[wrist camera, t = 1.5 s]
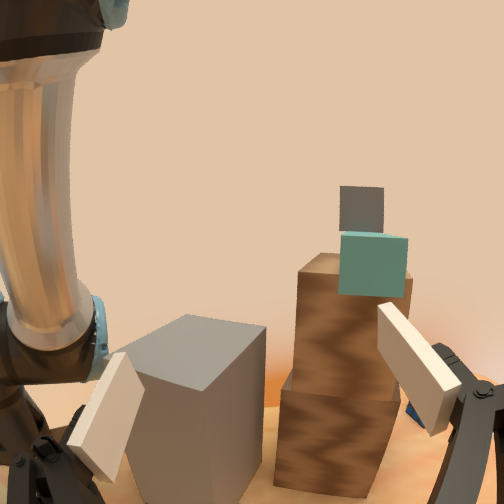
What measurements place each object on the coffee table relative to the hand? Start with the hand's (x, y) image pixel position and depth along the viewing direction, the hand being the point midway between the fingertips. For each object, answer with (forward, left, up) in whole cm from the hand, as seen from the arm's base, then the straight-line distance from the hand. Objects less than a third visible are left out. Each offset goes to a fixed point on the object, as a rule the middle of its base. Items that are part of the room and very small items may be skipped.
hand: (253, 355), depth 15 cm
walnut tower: (+4, +20, -26) cm, 33 cm away
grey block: (-10, +10, -26) cm, 29 cm away
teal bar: (+5, +15, +2) cm, 16 cm away
